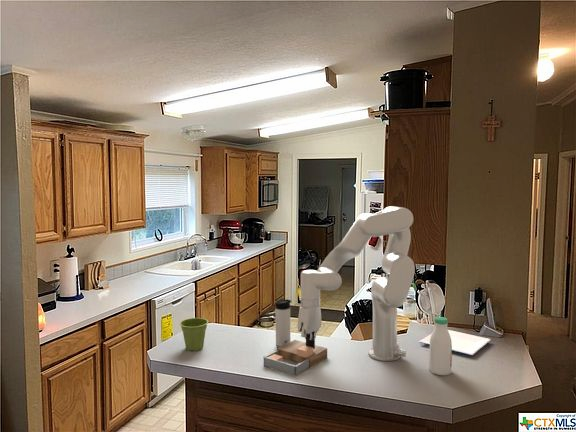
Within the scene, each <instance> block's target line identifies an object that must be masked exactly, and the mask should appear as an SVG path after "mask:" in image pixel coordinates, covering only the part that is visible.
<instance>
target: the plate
mask: <svg viewBox="0 0 576 432" xmlns="http://www.w3.org/2000/svg"><path fill="white" fill-rule="evenodd" d="M448 332H449V334H450V337H451V341H452V352H456V353H460V354H464V355H467V356H474V355H475V354H476V353H477V352H478V351H480V349H482V348H483V347H484V346H486V345H487V344H488V343H490V341H491V338H487V337H484V336H483V337H482V336H478V335H473V334H469V333H464V332H460V331H456V330H455V331H454V330H452V329H451V330H450V329H448ZM431 334H432V333H430V334H429V335H428V336H426V337H424V338H423V339H421V340H419V341H418V342H420V344H424V345H428V346H430V337H431Z"/></svg>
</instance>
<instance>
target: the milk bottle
mask: <svg viewBox="0 0 576 432" xmlns="http://www.w3.org/2000/svg"><path fill="white" fill-rule="evenodd" d="M448 323H449V321H448V318H447V317H443V316H435V317H434V329H433V330H432V332H431V333H430V334H431V337H430V345H429V350H428V352H429V354H428V355H429V358H428V362H429V363H428V369H429V371H430V373H432V374H434V375H437V376H448V375H451V373H452V352H453V351H452V341H451V337H450V334H449V332H448V330H449V329H448Z"/></svg>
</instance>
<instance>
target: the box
mask: <svg viewBox="0 0 576 432" xmlns="http://www.w3.org/2000/svg"><path fill="white" fill-rule="evenodd" d="M273 354H276V355H279V350H277V349H276V350H275V351H273V352H270V353H268V354H266V355H265V356H263V367H265V368H269V369H272V370H276V371H279V372H282V373H285V374H288V375H291V376H294V377H297V376H298V375H300V374H301V373H302V374H303V372H305V371H307V370H308V369H310V368H309V359H307V360H305V361H303V362H301V363H296V362H292V361H289V360H286V359H283V362H281V361H278V360H275V359H271V358H268V357H269V356H271V355H273Z"/></svg>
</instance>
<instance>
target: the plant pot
mask: <svg viewBox="0 0 576 432" xmlns="http://www.w3.org/2000/svg"><path fill="white" fill-rule="evenodd" d="M208 323H209V320H208V319H206V318H202V317H190V318H186V319H185V318H184V319H183V320H181V321H180V322H179V325H180V328H181V330H182V334H183V339H184V341H183V342H184V345H185V349H186V350H187V351H189V350H190V351H196V350H197V351H199V350H202V349H203V348H204V345H205V338H206V337H205V336H206V330H207V325H208Z"/></svg>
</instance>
